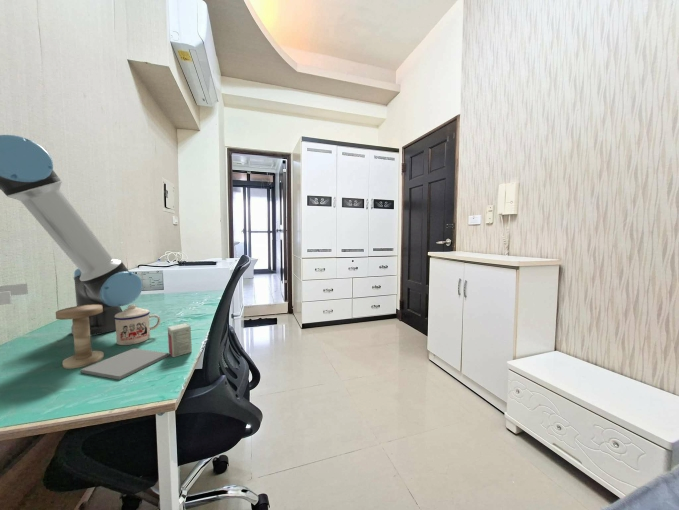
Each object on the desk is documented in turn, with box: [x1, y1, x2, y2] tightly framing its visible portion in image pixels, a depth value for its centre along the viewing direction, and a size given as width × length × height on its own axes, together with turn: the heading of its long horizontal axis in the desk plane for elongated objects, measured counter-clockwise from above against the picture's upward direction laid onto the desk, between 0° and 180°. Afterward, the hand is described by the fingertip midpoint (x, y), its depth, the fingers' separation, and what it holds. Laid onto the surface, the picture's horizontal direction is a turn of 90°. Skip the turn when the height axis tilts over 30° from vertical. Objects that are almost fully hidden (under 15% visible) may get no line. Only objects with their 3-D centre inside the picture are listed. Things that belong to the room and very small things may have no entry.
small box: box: [167, 322, 192, 358], centre depth 77 cm, size 5×4×8 cm
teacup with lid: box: [114, 304, 161, 346], centre depth 87 cm, size 12×9×12 cm
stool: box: [55, 305, 104, 370], centre depth 72 cm, size 9×9×14 cm
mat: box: [80, 347, 170, 381], centre depth 71 cm, size 13×13×1 cm
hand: (19, 292), depth 64 cm, fingers open, 13 cm apart
